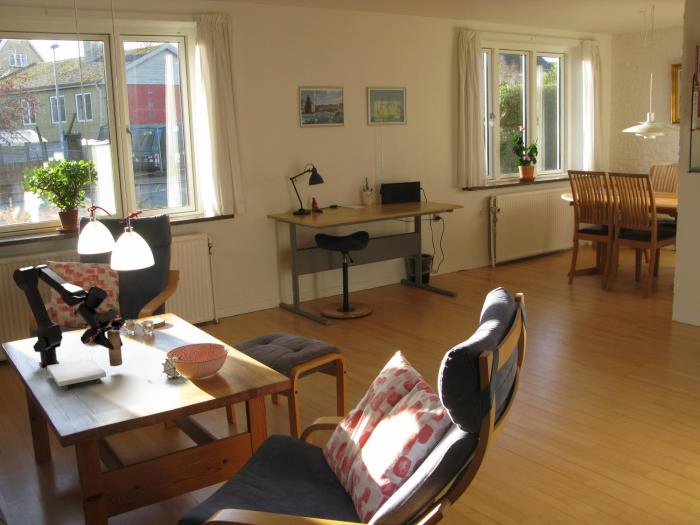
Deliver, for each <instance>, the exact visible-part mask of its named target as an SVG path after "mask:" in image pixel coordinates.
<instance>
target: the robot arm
mask: <svg viewBox="0 0 700 525" xmlns="http://www.w3.org/2000/svg"><path fill="white" fill-rule="evenodd" d="M12 278H13V281H14V282H15V285H16V286H17V288H19V289H20V290H21V291H22V292H23V293H24V294H25V297H26V299H27V303H28V305H29V307H30V310H31V313H32V315H33V317H34V320H35V322H36V324H37V332H36V337H37V341H36V342H35V343H34V345H33V350H34V352H35V353H39V354H40V355H39V356H40V362H38V364H39V366H40V367H41V368H47V366H49V365H55V364H60V362H59V361H58V358H57V348H59V347H61V344H62V339H63V332H62V330H61V327H60V324H59V323H56V324H55V323H53V322H52V321H51V317H50V315H49V313H48V310H47V308H46V305H45V303H44V299H43V297H42V295H41V292H40V290H39V287H38V286H39V281H40V280H41V281H43V282H44V283H45V284H47V285H48V286H49V288H50V287H51V288H52V289H53V290H54V291H55V292H57V293H58V294H59V295H60V298H61V300H62V301H63V302H64V304H66V305H67V306H68V307H74V306H78V307H75V308H74V309H73V310H74V311H73V316H75V317H76V316H78V315H79V316H80V317H81V318H82V319H83V320H84V321H85V324H84V326H85V327H86V330H85V331H84V332H83V334H82V335H81V336H80V342H81V343H82V344H83V345H86V344H88V343H91V344H95V345H98V346H101V347H103V348H105V349H107V350H109V349H110V350H113V349H114V347H113V346H112V344H111V343H110V342H109V340H108V338H107V336H106V333H107V332H108V331H112V330H119V331H120V330H121V329H122V328H123V327H124V325H125V324H126V321H125V319H124V318H123V317H119V318H118V315H119V312H118V310H117V308H115V307H114V306H113V307H111V308H109V309H108V311H104V312H102V311H100V312H99V311H98V310H97V309H99V308H100V307H101V305H102V304H103V303H104V302H105V301H106V300H107V298H108V292H107V291H106V290H105V289H104V288H101V287H98V286H97V285H93V286H92V285H91V287H90V288H89V290H88V291H87V290H85V289H83V288H82V287H80V286H77V285H74V284H71V283H69V282H68V281H66V280H65V279H63V278H62V277H61V276H59V275H58V274H56V273H55V272H54V271H52V270H51V269H50V268H49V266H48V265H46V264H40V265H36V266H26V267H21V268H17V269H15V270H14V271H13V274H12ZM89 326H90V329H88V327H89ZM91 337H92V339H93V341H90V339H89V338H91ZM120 342H121V347H122V346H123V345H124V343H123V341H122V338H121V337H120Z"/></svg>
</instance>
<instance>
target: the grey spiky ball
mask: <svg viewBox="0 0 700 525" xmlns="http://www.w3.org/2000/svg"><path fill="white" fill-rule="evenodd" d="M172 355H173V356H174V354H173V353H172V354H171V356H172ZM181 358H182V356H179V357H177V356H174V357H173V358H172V359H171V358H170V357H168V358H167V357H166V358H165V361H164V363H161V365H162V366H163V371H162V372H161V373H162V374H163V373H165V374H166V378H167V377H169V376H170V377H172V378H173V379H174V380H176V378H177V377H178V376H179V375H180V374H179V373H178V372H177V371H176V367H175V365H174V364H173V362H172V361H174V360H175V361H181V360H182V359H181Z"/></svg>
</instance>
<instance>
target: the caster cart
mask: <svg viewBox="0 0 700 525" xmlns="http://www.w3.org/2000/svg"><path fill="white" fill-rule="evenodd" d="M46 368H47V369H46V370H47V372H48V373H49V374H50V376H51V377H52V379H53V380H54V382H55V383H56V385H57V386H58V387H61V386H62V388H63V391H68V390H69V385H72V384H77V383H83V382H88V381H93V380H95V384H96V385H97V384H101V379H103V378H107V373H106V371H105V370H104V369H103V368H102V367H101V366H100V365H99V364H98V362H96V361H95V359H93V357H89V358H84V359H83V358H82V359H77V360H72V361H71V360H70V361H67V362H59V364H55V365H49V366H47V367H46Z"/></svg>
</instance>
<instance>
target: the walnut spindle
mask: <svg viewBox="0 0 700 525" xmlns="http://www.w3.org/2000/svg"><path fill="white" fill-rule="evenodd" d="M106 335H107V336H106V338H107V339H108V340H109V342H110V343H111V344H112V346H113V347H114V349H113V350H110V349H108V358H109V366H110V367H119V366H122V365H123V356H122V346H121V342H120V338H121V331H120V330H112V331H108V332H106Z"/></svg>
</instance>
